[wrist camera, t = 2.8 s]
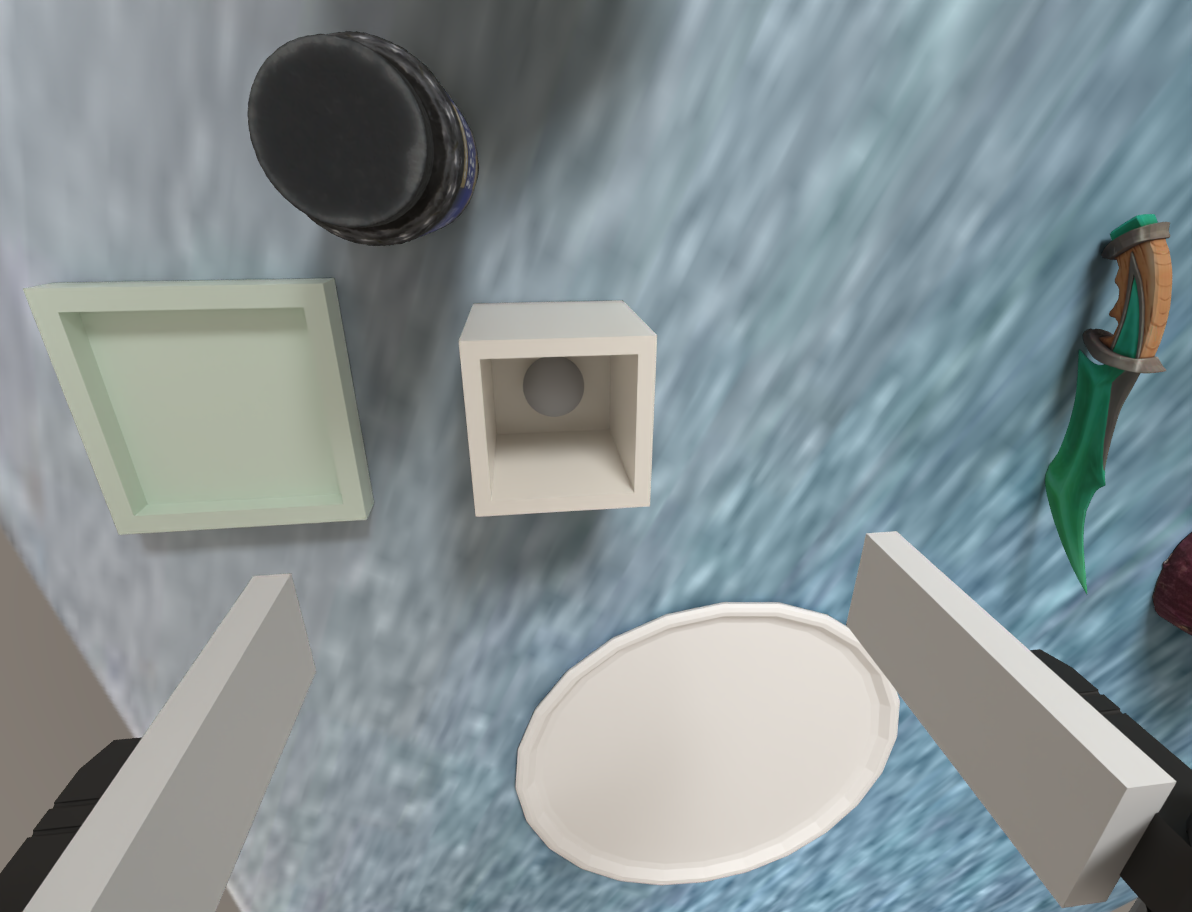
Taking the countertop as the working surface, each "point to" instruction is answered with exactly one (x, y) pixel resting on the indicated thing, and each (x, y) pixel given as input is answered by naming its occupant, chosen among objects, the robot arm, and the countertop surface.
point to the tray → (210, 400)
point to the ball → (553, 386)
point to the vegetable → (1176, 587)
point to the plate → (706, 743)
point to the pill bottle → (361, 138)
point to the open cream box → (565, 443)
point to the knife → (1111, 375)
